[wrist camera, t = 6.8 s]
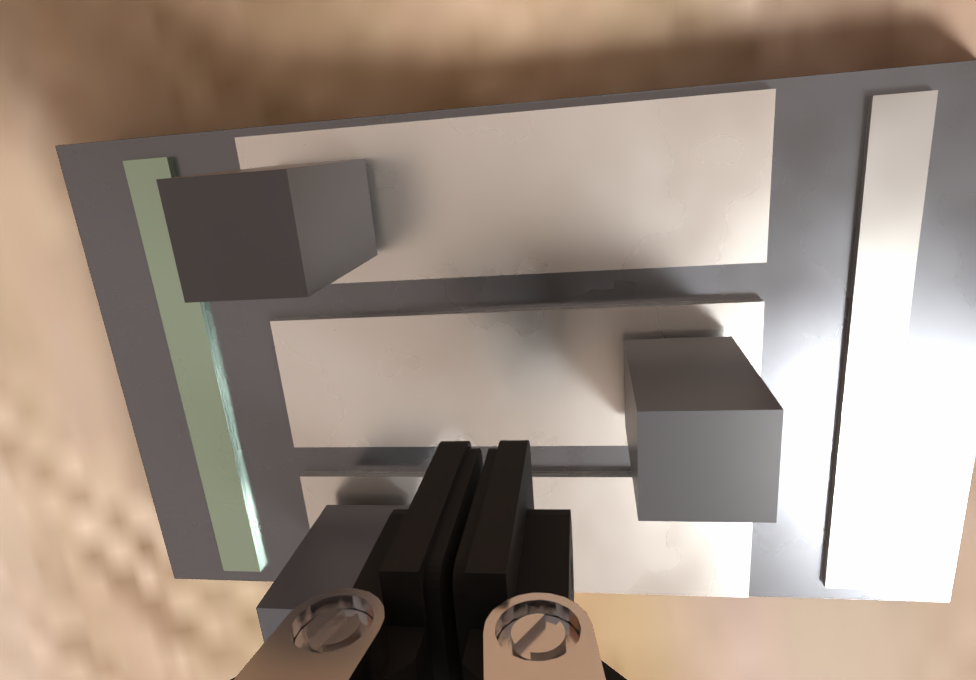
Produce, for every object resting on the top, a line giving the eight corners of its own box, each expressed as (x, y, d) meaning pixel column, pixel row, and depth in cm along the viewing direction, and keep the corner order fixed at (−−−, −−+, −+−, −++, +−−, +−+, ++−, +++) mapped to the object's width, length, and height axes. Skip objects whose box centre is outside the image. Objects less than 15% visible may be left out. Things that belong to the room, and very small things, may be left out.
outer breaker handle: (377, 255, 15) (308, 297, 11) (282, 260, 15) (184, 302, 12) (364, 158, 14) (286, 169, 11) (266, 166, 15) (156, 179, 11)
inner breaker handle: (420, 574, 18) (376, 694, 14) (339, 572, 18) (275, 687, 14) (411, 505, 17) (362, 612, 13) (326, 504, 17) (256, 608, 14)
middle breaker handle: (728, 424, 15) (775, 523, 11) (624, 425, 15) (638, 521, 12) (731, 336, 14) (784, 409, 11) (623, 339, 15) (637, 411, 11)
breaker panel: (911, 553, 18) (956, 610, 16) (210, 539, 22) (168, 584, 20) (983, 63, 14) (1054, 52, 12) (110, 143, 18) (45, 146, 16)
